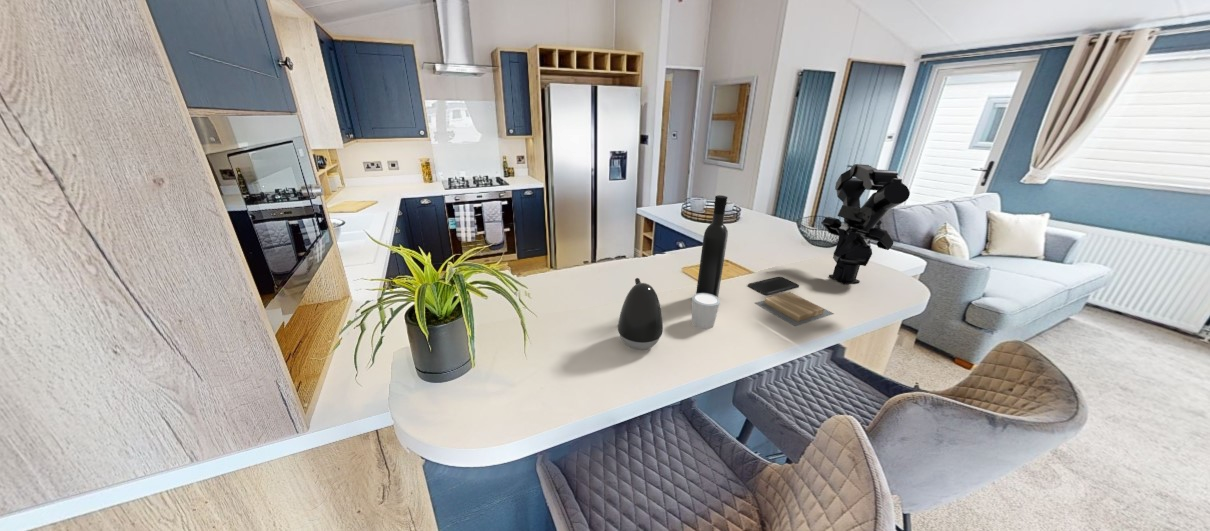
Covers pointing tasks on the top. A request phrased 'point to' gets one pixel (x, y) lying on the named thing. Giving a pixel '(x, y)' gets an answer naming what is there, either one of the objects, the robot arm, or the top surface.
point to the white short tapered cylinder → (704, 310)
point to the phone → (773, 285)
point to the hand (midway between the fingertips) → (835, 255)
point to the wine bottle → (713, 251)
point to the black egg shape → (640, 317)
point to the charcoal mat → (790, 320)
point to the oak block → (794, 306)
